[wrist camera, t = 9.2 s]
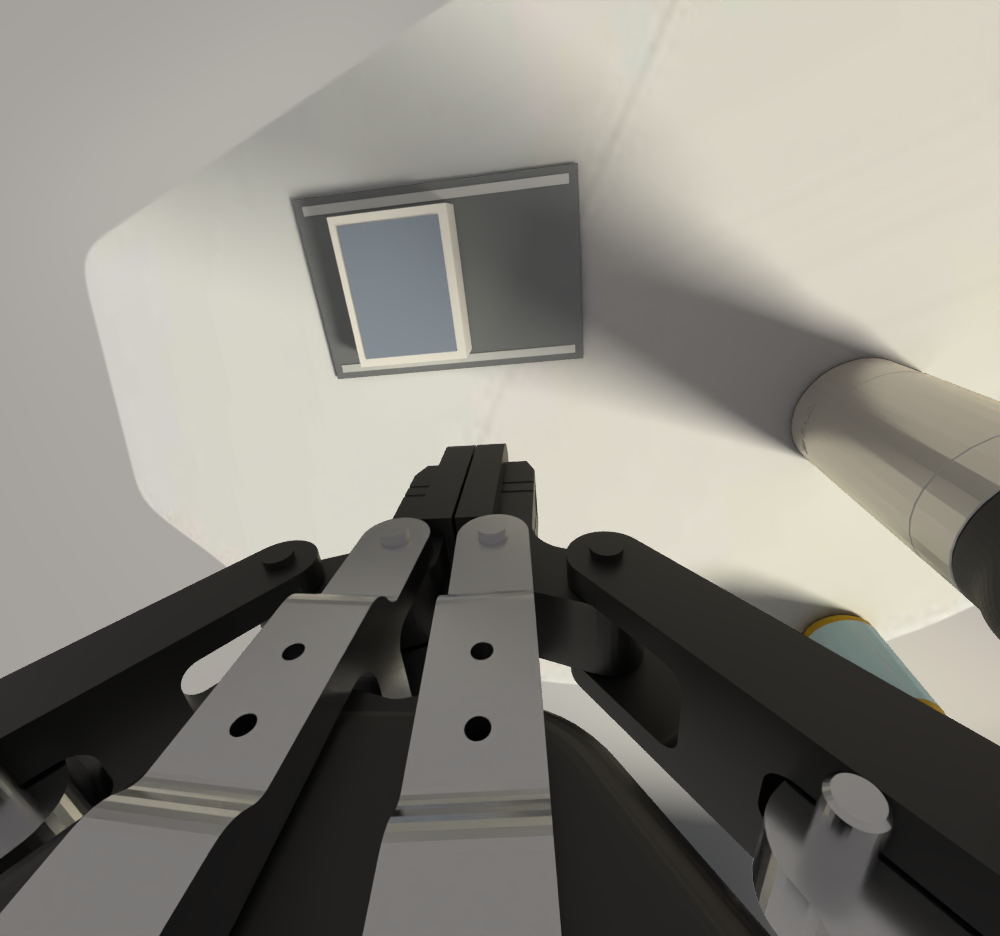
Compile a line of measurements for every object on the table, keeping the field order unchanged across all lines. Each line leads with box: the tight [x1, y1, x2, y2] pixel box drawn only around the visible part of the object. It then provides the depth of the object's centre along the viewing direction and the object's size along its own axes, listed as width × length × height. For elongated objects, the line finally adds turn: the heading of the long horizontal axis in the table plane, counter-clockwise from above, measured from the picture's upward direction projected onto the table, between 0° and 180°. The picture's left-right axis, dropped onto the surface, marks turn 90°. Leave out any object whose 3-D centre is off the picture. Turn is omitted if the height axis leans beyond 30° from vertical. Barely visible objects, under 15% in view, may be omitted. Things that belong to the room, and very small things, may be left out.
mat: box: [292, 163, 583, 379], centre depth 36 cm, size 20×13×1 cm, turn 96°
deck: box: [327, 203, 472, 367], centre depth 35 cm, size 3×10×8 cm
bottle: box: [803, 615, 945, 715], centre depth 42 cm, size 7×7×15 cm
